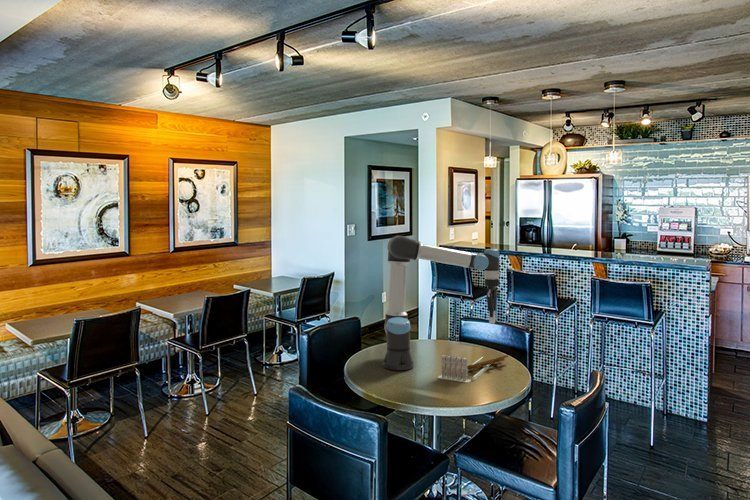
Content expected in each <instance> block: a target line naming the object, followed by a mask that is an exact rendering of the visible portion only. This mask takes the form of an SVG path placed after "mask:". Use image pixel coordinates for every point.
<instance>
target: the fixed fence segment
mask: <svg viewBox="0 0 750 500" xmlns="http://www.w3.org/2000/svg"><path fill="white" fill-rule="evenodd" d="M467 366H468V357H461V356H455V355H453V356H452V355H447V354H442V355H441V375H442V377H444V378H445V377H446V376H447V378H451V377H452V379H456V378H457V379H458V380H461V379H462V378H463V380H464V381H466V380H467V379H468V372H467Z"/></svg>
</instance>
